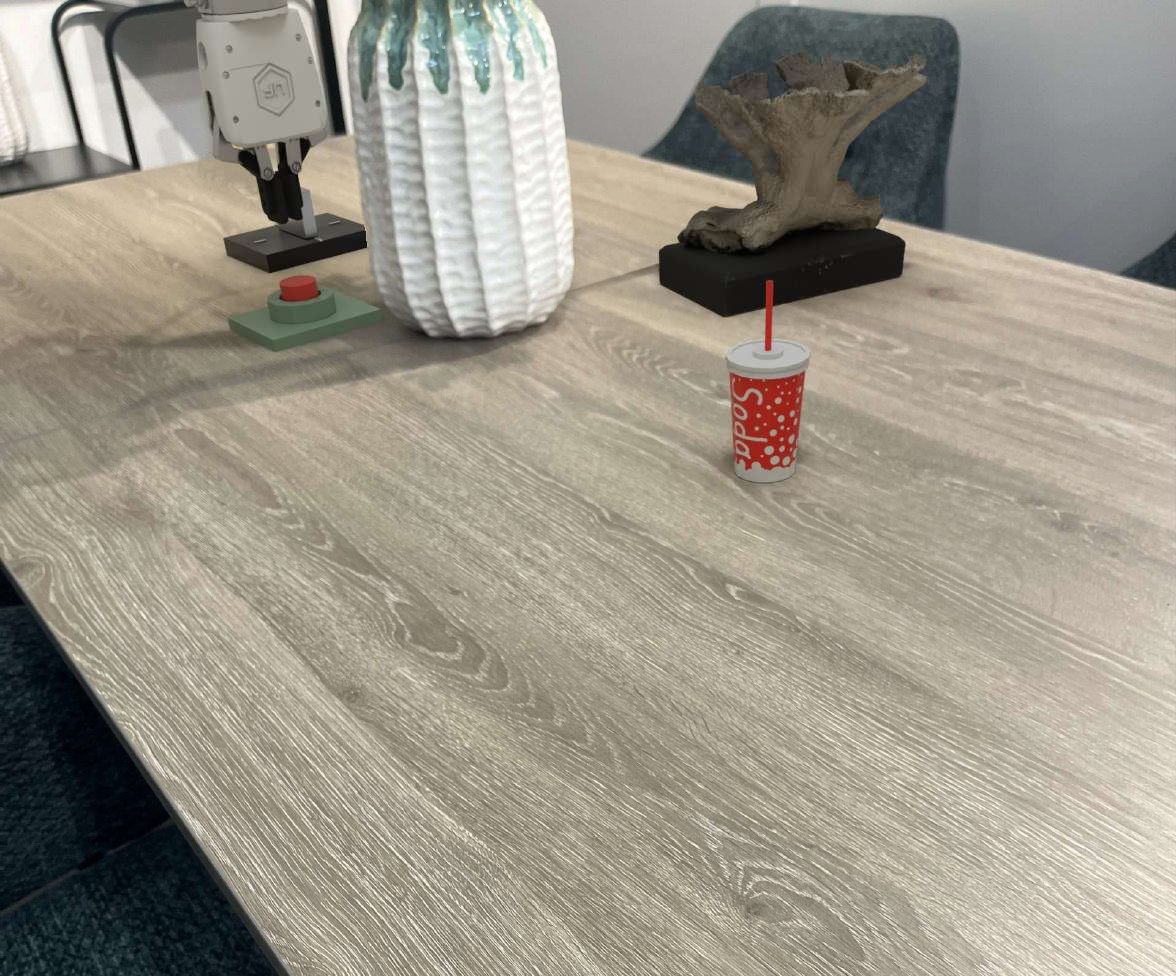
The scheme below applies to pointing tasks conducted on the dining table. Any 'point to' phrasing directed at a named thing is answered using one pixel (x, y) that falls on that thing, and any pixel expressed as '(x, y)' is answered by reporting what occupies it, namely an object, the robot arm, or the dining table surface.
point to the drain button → (298, 288)
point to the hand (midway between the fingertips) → (285, 218)
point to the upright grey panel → (307, 224)
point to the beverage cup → (766, 402)
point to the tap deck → (296, 244)
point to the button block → (303, 319)
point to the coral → (791, 188)
